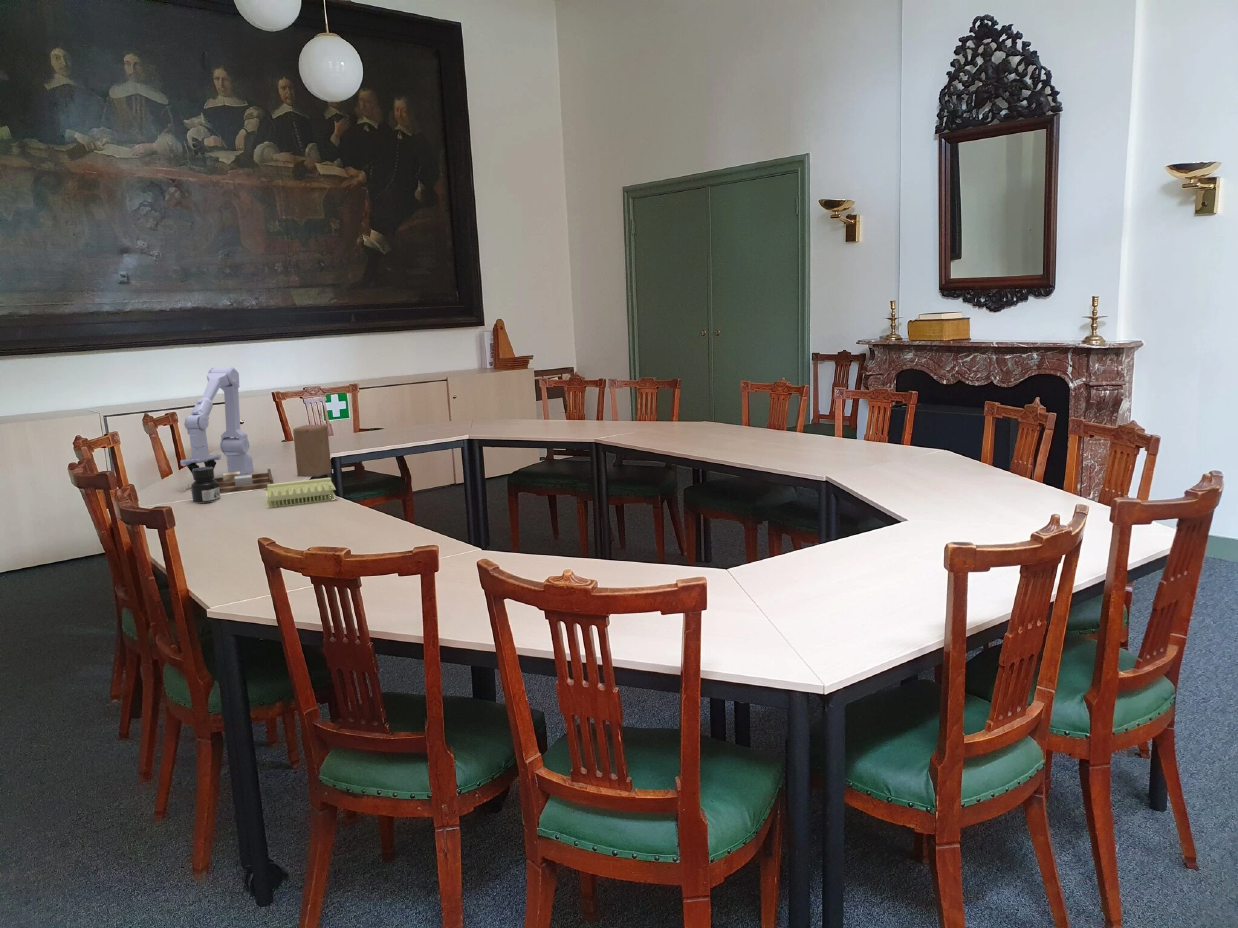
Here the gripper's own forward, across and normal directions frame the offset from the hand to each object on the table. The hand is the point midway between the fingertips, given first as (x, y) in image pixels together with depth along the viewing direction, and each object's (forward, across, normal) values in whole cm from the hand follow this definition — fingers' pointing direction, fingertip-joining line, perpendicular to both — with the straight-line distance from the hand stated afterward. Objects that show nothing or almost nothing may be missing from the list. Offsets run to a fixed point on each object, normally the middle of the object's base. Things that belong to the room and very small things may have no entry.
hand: (203, 481), depth 333 cm
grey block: (+2, -7, +16) cm, 18 cm away
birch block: (+2, -5, +4) cm, 7 cm away
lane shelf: (+3, -8, +10) cm, 13 cm away
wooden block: (+3, -37, +17) cm, 40 cm away
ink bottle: (+3, +11, +24) cm, 26 cm away
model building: (+3, -10, +52) cm, 53 cm away
